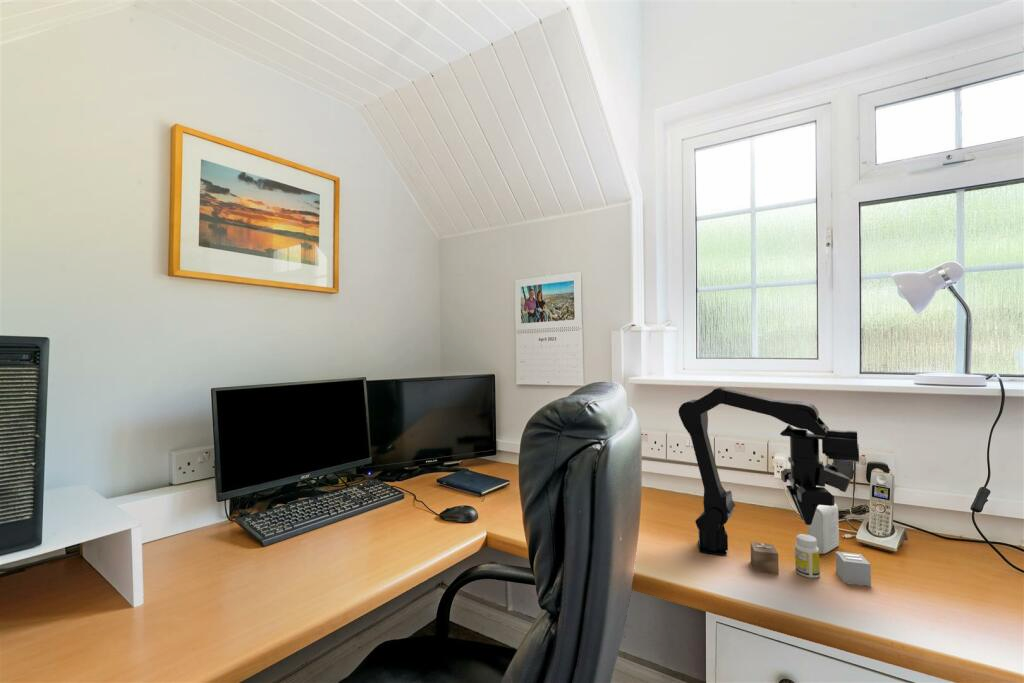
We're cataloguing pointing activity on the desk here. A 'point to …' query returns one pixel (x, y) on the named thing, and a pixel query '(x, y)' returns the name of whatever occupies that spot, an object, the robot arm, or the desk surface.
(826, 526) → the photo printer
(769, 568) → the walnut block
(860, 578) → the grey block
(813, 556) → the supplement bottle
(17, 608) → the desk surface
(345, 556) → the desk surface
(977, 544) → the desk surface
